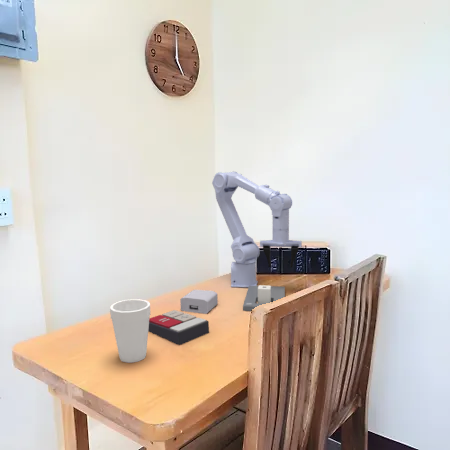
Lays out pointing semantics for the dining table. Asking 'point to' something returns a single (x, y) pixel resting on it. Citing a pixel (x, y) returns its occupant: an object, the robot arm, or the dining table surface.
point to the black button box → (178, 326)
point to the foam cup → (131, 328)
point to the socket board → (252, 296)
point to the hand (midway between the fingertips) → (280, 266)
